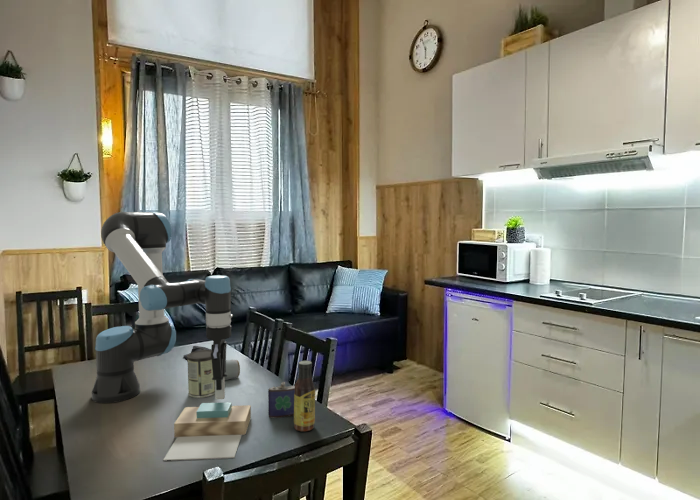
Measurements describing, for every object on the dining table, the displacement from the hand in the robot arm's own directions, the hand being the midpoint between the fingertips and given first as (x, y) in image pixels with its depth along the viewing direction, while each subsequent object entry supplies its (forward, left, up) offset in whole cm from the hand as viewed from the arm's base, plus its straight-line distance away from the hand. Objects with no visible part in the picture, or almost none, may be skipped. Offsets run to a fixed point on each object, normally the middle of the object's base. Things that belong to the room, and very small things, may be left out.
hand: (220, 398), depth 140 cm
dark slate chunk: (-18, +57, -6) cm, 60 cm away
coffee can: (-10, +19, -6) cm, 23 cm away
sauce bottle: (+27, -11, -6) cm, 30 cm away
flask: (+20, -2, -6) cm, 21 cm away
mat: (0, -20, -6) cm, 21 cm away
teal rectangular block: (0, -8, -2) cm, 8 cm away
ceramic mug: (-5, +34, -6) cm, 34 cm away
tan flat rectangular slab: (0, -8, -6) cm, 10 cm away
